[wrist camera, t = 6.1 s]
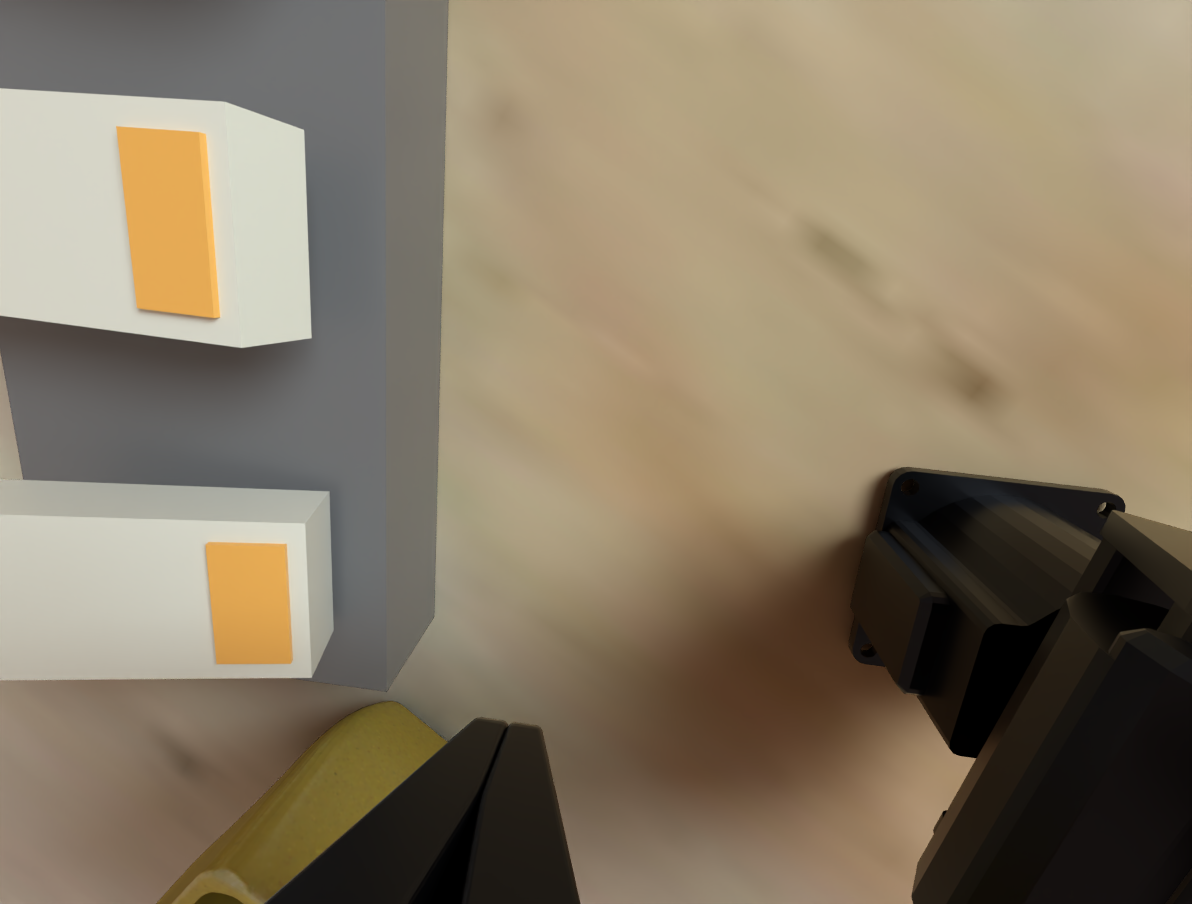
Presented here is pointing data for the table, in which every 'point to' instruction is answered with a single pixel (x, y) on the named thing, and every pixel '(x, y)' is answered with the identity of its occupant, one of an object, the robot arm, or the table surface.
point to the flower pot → (309, 806)
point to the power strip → (337, 292)
